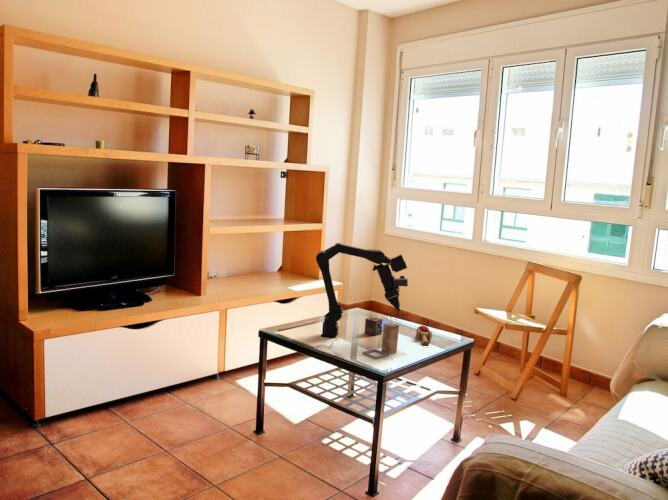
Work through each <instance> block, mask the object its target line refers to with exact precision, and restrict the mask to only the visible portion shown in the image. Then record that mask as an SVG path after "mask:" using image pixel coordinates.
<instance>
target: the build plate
mask: <svg viewBox="0 0 668 500" xmlns="http://www.w3.org/2000/svg"><path fill="white" fill-rule="evenodd" d="M381 350H382V347H379V348H375V349H370V350H369V349H368V350H365V351H361V352H357V353H355V354H357V355H359V356H361V357H364V358H367V359H369V360H370V361H373V362H375V363H379V362H382V361H386V360H390V359H394V358H399V357H402V356H408V353H407V352H404V351H401V350H398V349H397V353H394V354H390V355H389V354H387V353H385V352H382V351H381Z"/></svg>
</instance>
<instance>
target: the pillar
mask: <svg viewBox="0 0 668 500" xmlns="http://www.w3.org/2000/svg"><path fill="white" fill-rule="evenodd" d="M399 329H400V325H399V324H397V323H395V324H394V323H386V324H384V327H383V332H382V341H381V348H382V350H381V351H382V352H385V353H387V354H389V355H390V354H394V353H397V350H398V341H399Z"/></svg>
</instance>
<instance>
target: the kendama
mask: <svg viewBox="0 0 668 500" xmlns="http://www.w3.org/2000/svg"><path fill="white" fill-rule="evenodd" d="M432 337H433V331H432V330H430V329H429V327H428V326H427V325H420V326H418V327H417V329H416V333H415V338H416V339H419V338H420V339H421V345H422V347H423V346H428V347H429V342H431V341H432Z"/></svg>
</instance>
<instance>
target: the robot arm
mask: <svg viewBox="0 0 668 500" xmlns="http://www.w3.org/2000/svg"><path fill="white" fill-rule="evenodd" d="M338 254H344V255H349V256H352V257H359V258H362V259H364V260H368V261H369V262H372V263H374V264H373V267H372V270H371V271H373V272H374V271H377V274H378V276H379V278H380V282H381V284H382V287H383V289H384V298H385V299H386V301H387V302H388V303H390V305H391V306H393V308H395V310H396V311H400V308H401V305H400V298H399V297H400V287H404V288H405V287H408V286H409V285H408V279H409V278H407V277H405V275H400V276H399V277H397V278H396V277H395V276H394V275H393V273H392V272H395V273H398V272H401V271H403V270H406V269H408V266H407V263H406V260H405V259H404V258H403V255H402V254H398V255H397V256H394V257H392V258H390V257H388V256H386V255H385V253H384V252H383V251H382V250H381V249H365V248H360V247H356V246H351V245H347V244H342V243H340V242H337V243H335V244H333V245H332V246H330V247H328V248H326V249H325V250H319V251H318V252H317V254H316V255H315V256H316V257H315V261H316V263H317V266H318V269H319V270H320V272H321V276H322V280H323V284H324V288H325V293H326V296H327V301H328V312H327V313H326V314H325V315H324V319H323V321H322V329H321V330H322V333H321V334H320V336H321V337H324V338H331V339H332V338H333V339H335V338H336V337H337V336H338V335H339V328H340V327H339V325H338V324H339V323H338V322H339V321H340V320H341V319H342V317H343V313H344V311H343V308H342V302H341V301H338V300H337V297H336V292H335V289H334V284H333V279H332V275H331V271H330V260H331V259H333V258H334V257H335V256H336V255H338Z"/></svg>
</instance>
